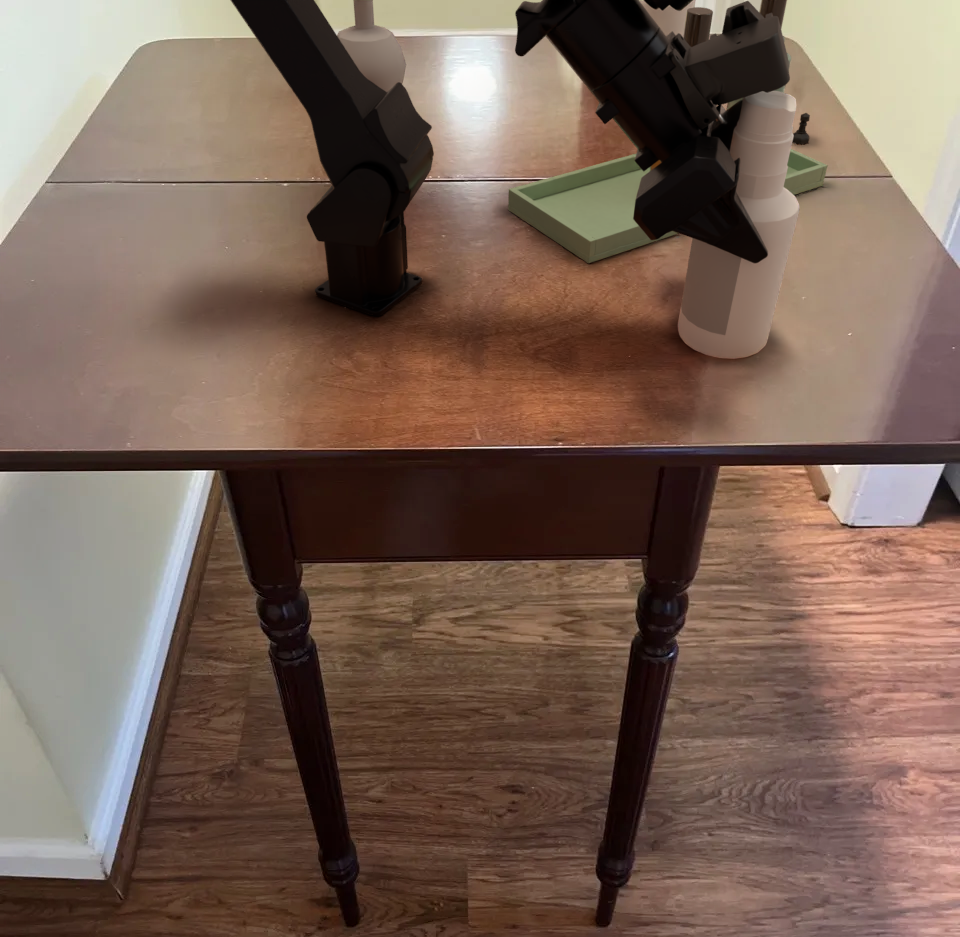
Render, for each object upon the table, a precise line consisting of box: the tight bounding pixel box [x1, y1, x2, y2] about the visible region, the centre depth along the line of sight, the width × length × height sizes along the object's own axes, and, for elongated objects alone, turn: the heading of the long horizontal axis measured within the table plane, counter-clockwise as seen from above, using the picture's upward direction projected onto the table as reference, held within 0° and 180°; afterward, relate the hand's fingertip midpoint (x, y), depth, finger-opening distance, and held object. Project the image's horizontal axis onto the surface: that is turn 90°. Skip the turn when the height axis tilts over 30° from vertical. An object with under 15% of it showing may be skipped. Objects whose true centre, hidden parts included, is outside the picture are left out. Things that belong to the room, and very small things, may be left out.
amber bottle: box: [650, 6, 714, 171], centre depth 87 cm, size 5×5×16 cm
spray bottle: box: [677, 91, 800, 360], centre depth 68 cm, size 7×7×18 cm
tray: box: [507, 148, 829, 264], centre depth 91 cm, size 29×12×2 cm, turn 123°
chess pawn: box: [792, 112, 811, 145], centre depth 102 cm, size 2×2×3 cm
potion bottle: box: [336, 0, 407, 92], centre depth 106 cm, size 9×9×18 cm
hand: (763, 235), depth 68 cm, fingers closed on spray bottle, 7 cm apart
